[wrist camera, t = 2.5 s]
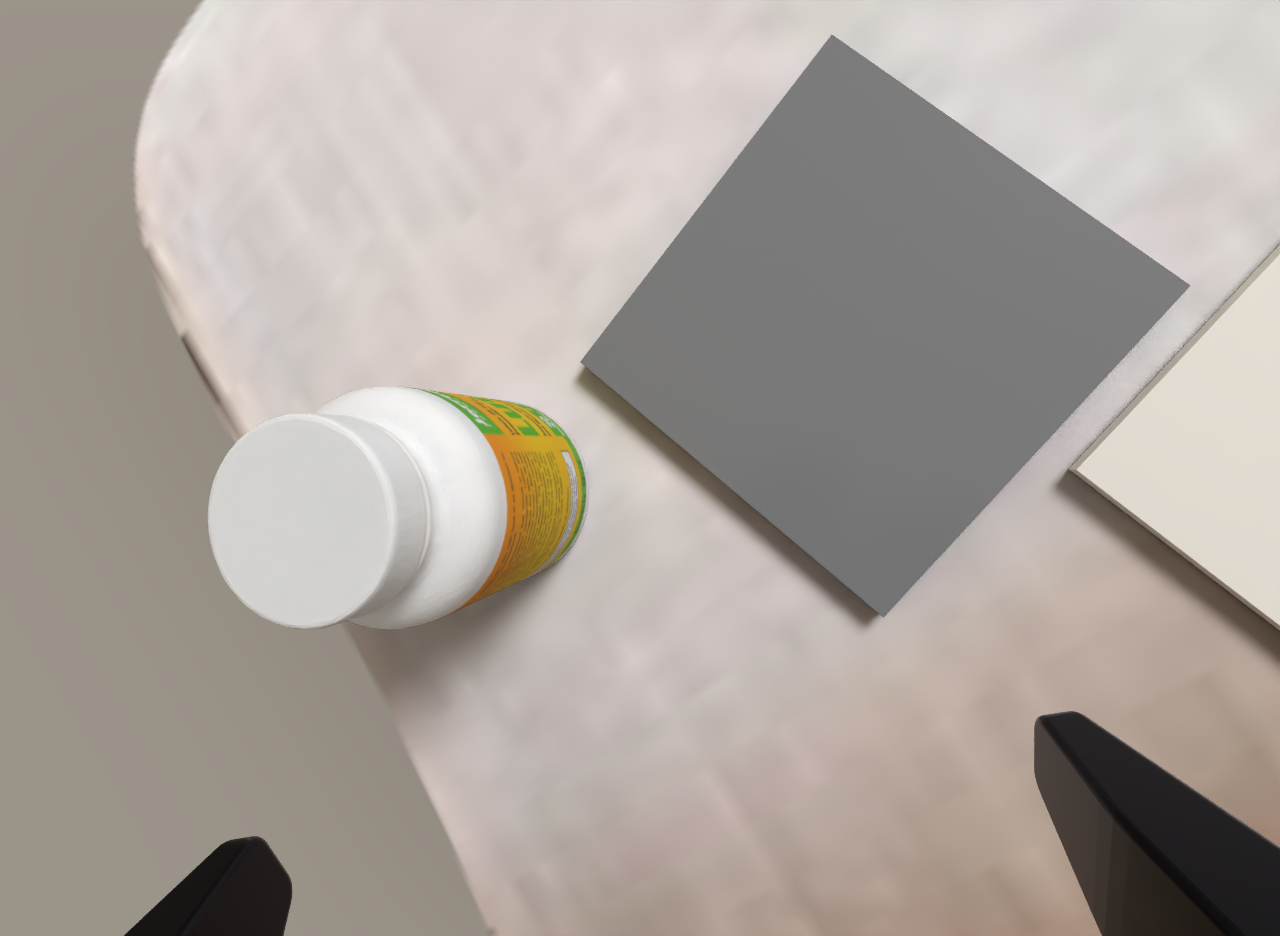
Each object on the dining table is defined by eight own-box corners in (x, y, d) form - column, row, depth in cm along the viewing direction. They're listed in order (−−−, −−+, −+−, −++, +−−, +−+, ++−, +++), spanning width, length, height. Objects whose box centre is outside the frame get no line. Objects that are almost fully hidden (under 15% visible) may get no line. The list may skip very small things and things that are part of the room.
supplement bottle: (600, 408, 22) (442, 383, 13) (586, 587, 23) (420, 691, 13) (436, 395, 23) (180, 363, 14) (424, 565, 24) (165, 646, 14)
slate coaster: (881, 612, 21) (883, 617, 20) (586, 364, 22) (580, 361, 22) (1179, 290, 19) (1190, 285, 18) (831, 46, 20) (831, 34, 20)
